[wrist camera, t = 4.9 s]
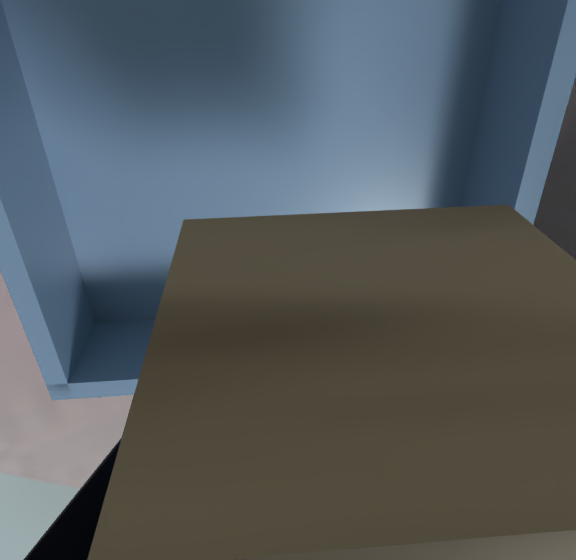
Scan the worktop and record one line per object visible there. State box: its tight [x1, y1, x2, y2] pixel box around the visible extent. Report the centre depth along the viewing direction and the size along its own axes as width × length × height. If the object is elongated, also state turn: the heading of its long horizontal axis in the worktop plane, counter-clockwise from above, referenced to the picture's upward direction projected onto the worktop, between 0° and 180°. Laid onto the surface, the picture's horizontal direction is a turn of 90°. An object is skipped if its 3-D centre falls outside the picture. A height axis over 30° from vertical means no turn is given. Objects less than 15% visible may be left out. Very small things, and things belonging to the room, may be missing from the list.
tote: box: [0, 0, 576, 400], centre depth 11 cm, size 17×13×4 cm
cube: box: [87, 205, 576, 560], centre depth 6 cm, size 5×5×5 cm
